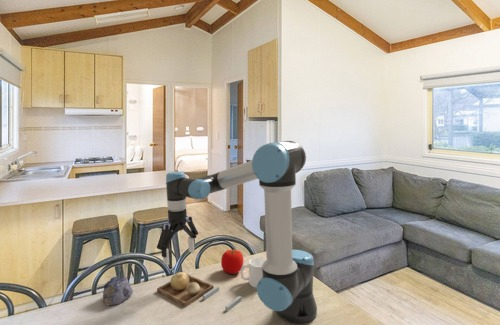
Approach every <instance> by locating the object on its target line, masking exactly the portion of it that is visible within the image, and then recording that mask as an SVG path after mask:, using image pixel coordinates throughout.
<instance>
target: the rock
mask: <svg viewBox="0 0 500 325" xmlns="http://www.w3.org/2000/svg"><path fill="white" fill-rule="evenodd" d="M133 291H134V290H133V288H132V286H131V284H130V282H129V280H128V277H126V276H125V277H123V276H114V277H111V278H110V280H109V281H107V282H106V283H105V284H103V291H102V292H103V293H102V299H103V303H104V304H106V305H108V306H113V305H114V306H115V305H120V304H122V303H123V302H124V301H126V300H129V299H130V298H131V297H132V295H133Z"/></svg>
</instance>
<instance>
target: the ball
mask: <svg viewBox="0 0 500 325" xmlns="http://www.w3.org/2000/svg"><path fill="white" fill-rule="evenodd" d="M187 290H188V293H189V294H190V295H196V294H198V292H199V290H200V286H199V284H198V283H196V282H192V283H190V284H189V286H188V289H187Z"/></svg>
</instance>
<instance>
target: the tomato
mask: <svg viewBox="0 0 500 325" xmlns="http://www.w3.org/2000/svg"><path fill="white" fill-rule="evenodd" d="M220 264H221V268H222V269H223V272H224V273H227V274H231V275H234V274H237V273H239V272H241V268H242V266H243V265H244V256H243V254H242V252H241V251H240V250H238V249H228V250H226V251H224V252H223V253H222V256H221V263H220Z"/></svg>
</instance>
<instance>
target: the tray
mask: <svg viewBox="0 0 500 325" xmlns="http://www.w3.org/2000/svg"><path fill="white" fill-rule="evenodd" d="M186 274H187V275H188V277H189V284H190V283H192V282H196V283H198V284H199V286H200V290H199V292H198V294H196V295H190V294H189V293H188V290H187V289H188V286H189V284H188V286H187V287H186V288H185V289H182V290H175V289H173V288H172V286H171V283H170V281H168V282H166V283H165V284H163V285H161V286H159V287H157V288H156V292H157V293H159V294H160V295H162V296H164V297H166V298H168V299H170V300H171V301H173V302H175V303H177V304H179V305H181V306H182V307H184V308H186V307H188V306H190V305H192V304H193V303H195V302H196V301H198V300H199V299H200V298H203V295H204V294H206V293H207V292H209V291H210V290H212V289H213V288H215V287H214V286H215V285H213V284H210V283H208V282H206V281H204V280H202V279H199V278H197V277H195V276H192V275H190V274H188V273H186Z"/></svg>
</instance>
